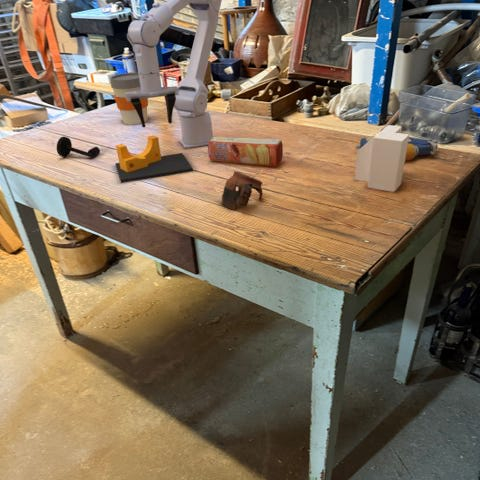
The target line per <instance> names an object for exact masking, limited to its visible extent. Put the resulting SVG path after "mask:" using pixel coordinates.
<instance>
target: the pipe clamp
mask: <svg viewBox="0 0 480 480" xmlns="http://www.w3.org/2000/svg"><path fill="white" fill-rule="evenodd" d="M160 147H161V146H160V141H159V137H158V136H156V135H155V134H154V135H149V136H147V143H146V145H145V148H144V150H143V151H142V152H141V153H138V154H131V152H130V151H129V149H128V146H127V145H125V144H123V143H120V144H116V145H115V150H116V154H117V159H118V163H120V168H121V169H122V170H124V171H126V172H131V171H134V170H138V169H141V168H144V167H148V164H150V163H153V162H156V161H160V160H161V156H162V154H161V148H160Z"/></svg>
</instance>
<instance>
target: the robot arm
mask: <svg viewBox="0 0 480 480" xmlns="http://www.w3.org/2000/svg"><path fill="white" fill-rule="evenodd" d="M222 1H223V0H167V1H165V3H164V2H154V3H152V8H150V10H148V11H147V12H146V13H142V14H141V16H140V19H138V20H136V19H135V20H132V21H131V22H130V24H129V25H128V27H127V28H128V29H127V33H126V39H127V41H128V42H129V43H130V44H131V46H132V52H134V56H135V61H136V67H137V73H138V74H139V80H140V86H141V90H137V91H132V92H126V93H125V95H126V100H127V101H131V103H132V105H133V106H134V108H135V109H136V111H137V113H138V115H139V118H140V120H141V123H140V124H141V126H142V128H146V122H145V121H144V117H143V112H142V104H141V102H140V100H139V99H146V98H148V99H151V98H160V97H164V102H165V107H166V117H167V123H169V124H170V125H171V124H172V123H173V121H172V120H173V112H174V111H173V110H174V109H175V110H176V111H177V114H178V115H179V123H180V129H181V130H180V131H181V137H182V138H181V139H179V142H180V143H181V145H182V146H183V148H184V149H190V148H195V147H203V146H208V143H209V141H210V140H211V139H212V138H213V137H214V134H213V122H212V117H211V114H210V112H209V111H206V110H207V108H208V95H209V90H208V88H207V86H206V85H205V83H204V82H205V77H206V73H207V68H208V65H209V60H210V57H211V52H212V48H213V45H214V41H215V35H216V31H217V27H218V24H219V16H220V14H219V13H220V10H221V5H222ZM187 6H188V7H189V9H190V10H191V12H192V13H193V15H194V16H195V17H196V18H197V20H198V22H197V27H196V31H195V35H194V38H193V39H194V40H193V44H192V48H191V52H190V56H189V60H188V65H187V68H186V73H185V77H184V78H182V79H181V80H180V81H179V82H178V83H177V85H174V86H162V80H161V74H160V66H159V59H158V52H157V51H158V50H157V45H158V43H159V42H160V37H161V35H162V34H163V33H164V32H165V31H166V30H167V29H169V27H171V26H172V25H173V23H174V16H176V15H177V14H178V13H180V11H182V10H184V9H185V8H186V7H187Z"/></svg>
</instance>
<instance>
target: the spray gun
mask: <svg viewBox="0 0 480 480" xmlns="http://www.w3.org/2000/svg"><path fill="white" fill-rule="evenodd" d="M375 136H376V135H372V136H367V137H363V138H360V143H357V144H356V145H355V148H356V149H358V150H359V149H360V148H361V147H363V146H364V145H365V144H366V143H367V142H368V141H370V140H371V139H372V138H373V137H375ZM438 147H439V146H438V139H434V140H433V139H429V138H422V137H415V136H409V139H408V145H407V151H406V157H405V162H406V161H411V160H413V159H415V157H417V156H426V155H431V156H435V154H436V151H437V149H438Z"/></svg>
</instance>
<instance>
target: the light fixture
mask: <svg viewBox="0 0 480 480" xmlns="http://www.w3.org/2000/svg"><path fill="white" fill-rule="evenodd" d="M101 147H102V146H101ZM101 147H98V146H94V147H92V148H90V149H88V150H87V151H85V150H82V149H79V148H75V147H73V144H72V140H71V139H70V137H67V136H61V137H59V138H58V140H57V142H56V153H57V154H58V156H60V157H63V158H67V157H69V156H70V154H71V152H73V153H76V154H79V155H82V156H85V157H89V158H92V159H93V158H94V157H96V156H98V155H99V154H101V149H100V148H101Z"/></svg>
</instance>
